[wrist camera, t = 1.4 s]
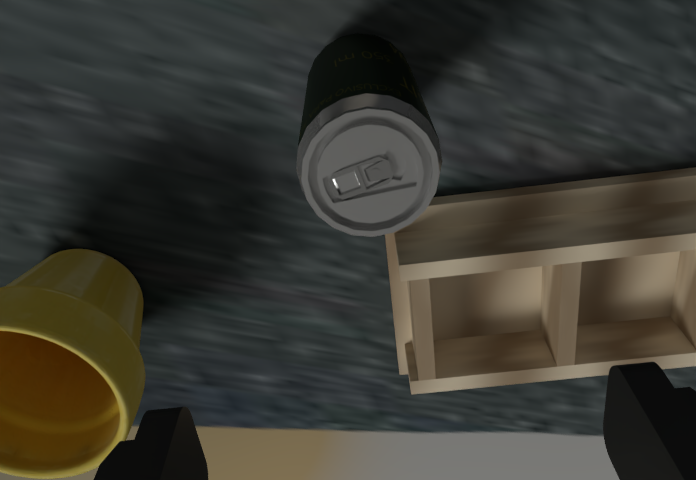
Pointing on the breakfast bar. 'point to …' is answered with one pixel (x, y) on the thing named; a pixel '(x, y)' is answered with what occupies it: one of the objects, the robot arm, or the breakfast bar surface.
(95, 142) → the breakfast bar surface
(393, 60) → the beer can
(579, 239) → the wooden compartment organizer
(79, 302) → the plant pot
